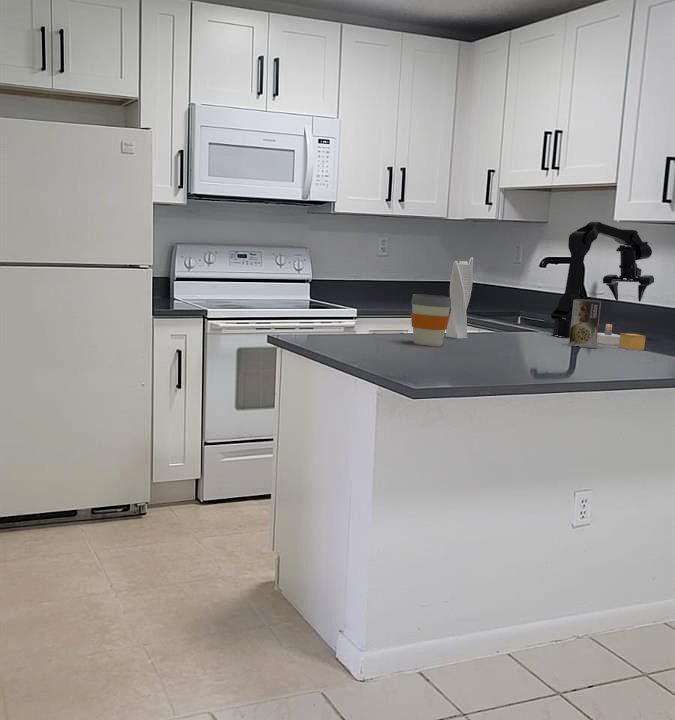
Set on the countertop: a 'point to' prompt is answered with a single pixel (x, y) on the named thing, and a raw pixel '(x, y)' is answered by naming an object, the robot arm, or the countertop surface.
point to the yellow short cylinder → (632, 341)
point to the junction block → (608, 336)
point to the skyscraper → (459, 299)
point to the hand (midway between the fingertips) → (628, 301)
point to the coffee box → (584, 323)
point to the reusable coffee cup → (429, 318)
